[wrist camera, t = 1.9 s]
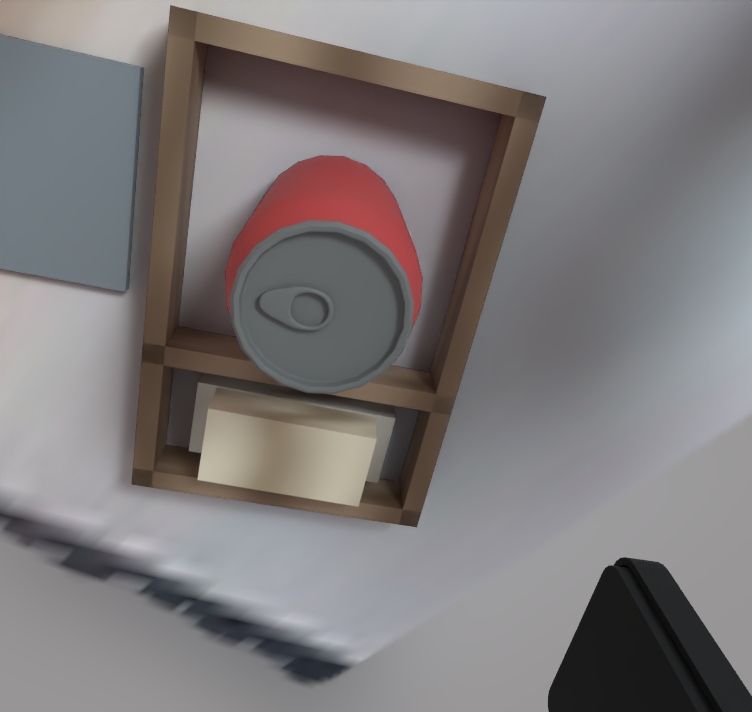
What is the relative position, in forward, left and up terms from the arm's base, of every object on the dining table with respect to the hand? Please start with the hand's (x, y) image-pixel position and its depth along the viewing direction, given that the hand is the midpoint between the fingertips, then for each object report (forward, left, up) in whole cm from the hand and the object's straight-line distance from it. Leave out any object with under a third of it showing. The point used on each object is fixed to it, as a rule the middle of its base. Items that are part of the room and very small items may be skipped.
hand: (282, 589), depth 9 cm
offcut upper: (0, +10, -21) cm, 24 cm away
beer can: (0, 0, -23) cm, 23 cm away
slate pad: (+14, 0, -23) cm, 27 cm away
